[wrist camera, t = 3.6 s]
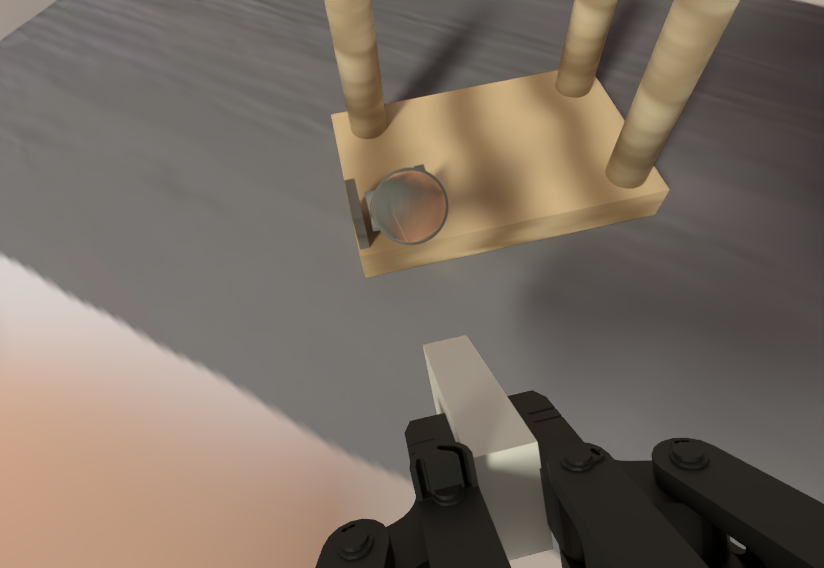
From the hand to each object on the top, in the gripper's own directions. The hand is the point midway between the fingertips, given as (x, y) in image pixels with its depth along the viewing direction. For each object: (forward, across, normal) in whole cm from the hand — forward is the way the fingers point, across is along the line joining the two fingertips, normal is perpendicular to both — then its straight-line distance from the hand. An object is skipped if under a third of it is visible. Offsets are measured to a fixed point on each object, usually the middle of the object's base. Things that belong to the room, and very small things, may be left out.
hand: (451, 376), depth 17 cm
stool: (+21, +8, +5) cm, 23 cm away
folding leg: (+16, 0, +4) cm, 17 cm away
